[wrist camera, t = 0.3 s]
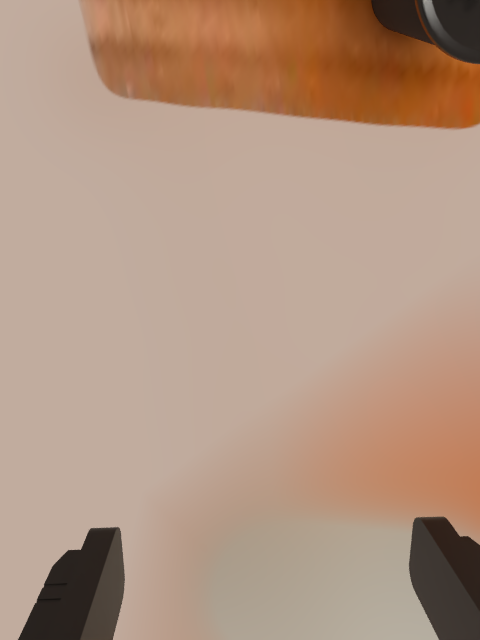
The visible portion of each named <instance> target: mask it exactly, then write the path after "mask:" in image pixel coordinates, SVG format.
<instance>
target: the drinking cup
mask: <svg viewBox="0 0 480 640" xmlns="http://www.w3.org/2000/svg"><path fill="white" fill-rule="evenodd" d="M372 6H373V10H374V13H375V15H376V17H377V19H378V20H379V21H380V23H381V24H382V25H384V26H385V27H386V28H388V29H390V30H392V31H395V32H398V33H401V34H404V35H407V36H410V37H413V38H416V39H419V40H422V41H425V42H428V43H431V44H433V45H436V46H437V47H438V48H439V49H440V50H441V51H443V52H444V53H446V54H447V55H449V56H450V57H453V58H454V59H457V60H460V61H463V62H467V63H472V64H480V0H372Z"/></svg>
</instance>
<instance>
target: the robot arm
mask: <svg viewBox="0 0 480 640" xmlns="http://www.w3.org/2000/svg"><path fill="white" fill-rule="evenodd" d="M409 571H410V577H411V582H412V585H413V588H414V590H415V592H416V594H417V596H418V598H419V600H420V602H421V604H422V606H423V608H424V610H425V612H426V614H427V616H428V618H429V620H430V622H431V624H432V626H433V628H434V630H435V632H436V634H437V636H438V638H439V640H480V545H479V544H477V543H476V542H475V541H473V540H472V539H471V538H470V537H468V536H463V537H460V536H459V535H458V534H457V532H456V531H455V529H454V528H453V526H452V525H451V524H450V522H449V521H448V520H447V519H446V518H445V517H420V518H419V517H418V518H415V520H414V522H413V531H412V541H411V551H410V561H409ZM124 577H125V576H124V563H123V552H122V541H121V531H120V528H118V527H114V528H91V529H90V530H89V532H88V534H87V537H86V539H85V541H84V544H83V546H82V549H81V550H68V551H67V552H66V553H65V554H64V555H63V556H62V557H61V558H60V559H59V560H58V561H57V562H56V563H55V564H54V565H53V567H52V569H51V571H50V573H49V575H48V577H47V579H46V581H45V584H44V588H42V590H41V592H40V594H39V596H38V599H37V603H35V605H34V607H33V609H32V611H31V613H30V616H29V618H28V620H27V622H26V624H25V627H24V628H23V631H22V633H21V635H20V637H19V639H18V640H113V636H114V632H115V628H116V624H117V620H118V616H119V612H120V608H121V604H122V599H123V593H124V581H125V578H124Z"/></svg>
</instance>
